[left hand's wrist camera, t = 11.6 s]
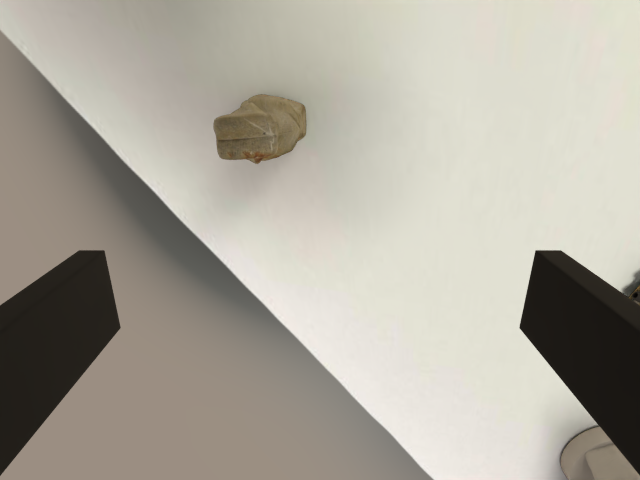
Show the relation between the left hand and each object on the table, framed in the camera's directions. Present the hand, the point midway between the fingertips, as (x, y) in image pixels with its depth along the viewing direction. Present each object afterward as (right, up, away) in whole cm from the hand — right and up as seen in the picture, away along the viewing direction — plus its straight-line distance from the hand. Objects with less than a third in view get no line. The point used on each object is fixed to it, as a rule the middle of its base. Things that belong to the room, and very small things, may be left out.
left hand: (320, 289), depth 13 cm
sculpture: (-5, +15, +33) cm, 37 cm away
